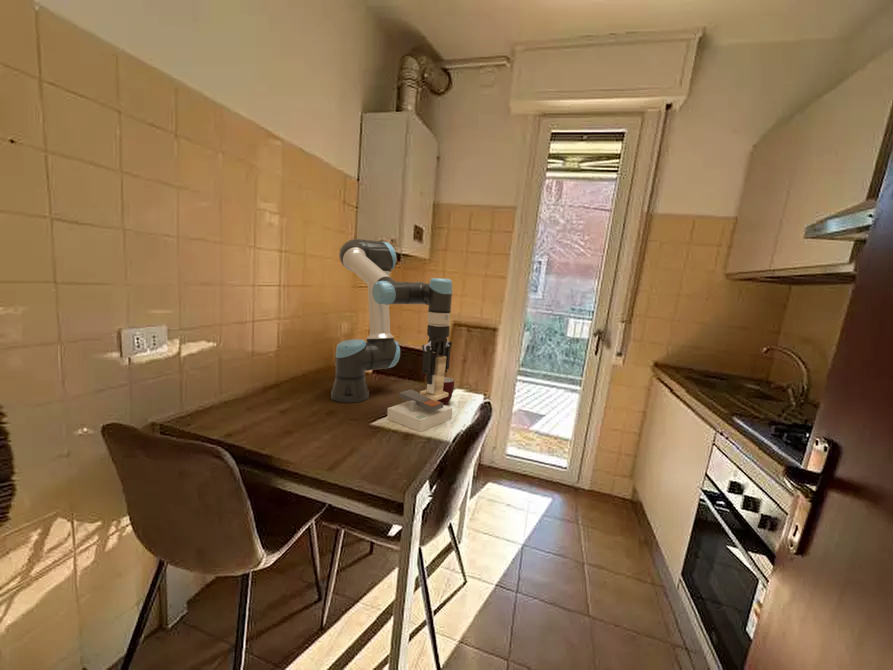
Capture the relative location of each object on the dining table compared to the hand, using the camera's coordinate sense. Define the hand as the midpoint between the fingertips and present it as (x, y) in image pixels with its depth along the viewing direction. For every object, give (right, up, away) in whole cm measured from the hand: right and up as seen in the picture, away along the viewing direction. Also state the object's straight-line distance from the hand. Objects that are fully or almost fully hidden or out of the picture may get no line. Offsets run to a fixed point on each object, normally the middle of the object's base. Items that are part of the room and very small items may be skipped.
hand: (434, 391), depth 131 cm
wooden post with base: (0, -2, 0) cm, 2 cm away
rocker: (-5, -4, +4) cm, 8 cm away
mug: (+2, -9, +22) cm, 24 cm away
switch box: (-6, -11, +6) cm, 13 cm away
